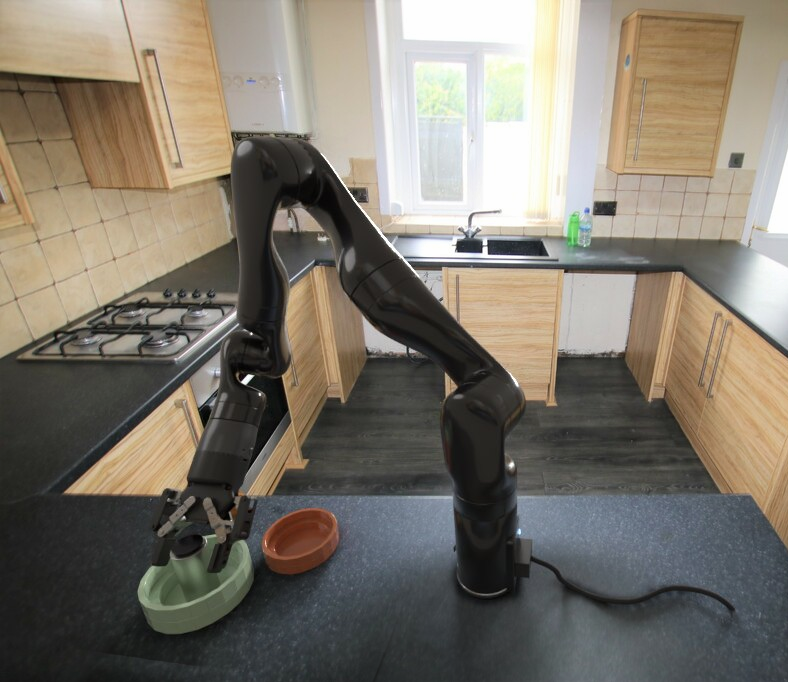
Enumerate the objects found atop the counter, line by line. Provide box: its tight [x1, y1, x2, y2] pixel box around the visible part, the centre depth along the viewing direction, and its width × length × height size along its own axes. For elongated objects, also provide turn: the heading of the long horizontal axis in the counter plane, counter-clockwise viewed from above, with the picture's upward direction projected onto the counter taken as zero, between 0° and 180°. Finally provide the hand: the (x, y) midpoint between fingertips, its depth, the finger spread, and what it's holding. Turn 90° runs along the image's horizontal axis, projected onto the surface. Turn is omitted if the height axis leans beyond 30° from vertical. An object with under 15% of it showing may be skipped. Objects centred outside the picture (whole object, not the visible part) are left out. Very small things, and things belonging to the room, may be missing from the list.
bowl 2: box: [261, 507, 340, 576], centre depth 77 cm, size 11×11×4 cm
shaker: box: [170, 533, 220, 602], centre depth 68 cm, size 4×4×9 cm
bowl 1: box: [137, 533, 255, 635], centre depth 69 cm, size 13×14×5 cm
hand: (186, 569), depth 66 cm, fingers open, 8 cm apart
